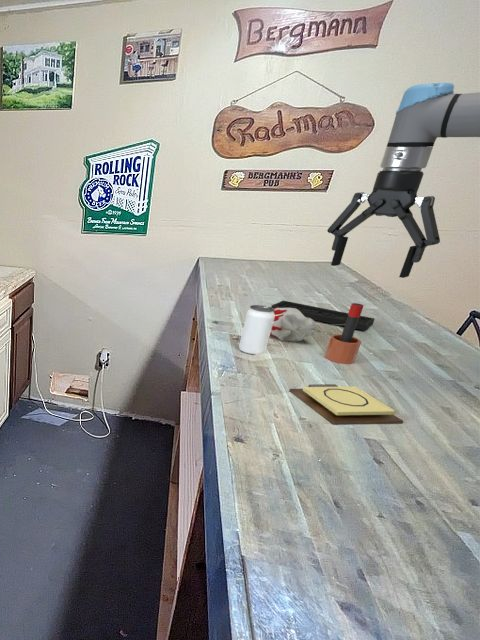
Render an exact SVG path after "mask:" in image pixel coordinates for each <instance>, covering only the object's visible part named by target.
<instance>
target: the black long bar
mask: <svg viewBox="0 0 480 640" xmlns="http://www.w3.org/2000/svg"><path fill="white" fill-rule="evenodd" d="M270 307H271V308H273V309H274V308H277V307H278V308H296V309H298V310H299V311H300V312H301V313H302V314H303V315H304V316H305V317H307V318H311V319H312V320H314V321H318V322H322V323H326V324H328V326H340V327H345V324H346V321H347V318H348V313H349V312H344V311H339V310H334V309H331V307H329V308H323V307H318V306H313V305H310V304H309V305H308V304H303V303H298V302H293V301H287V300H281V301H278V302H276V303H274V304H271V306H270ZM374 322H375V318H374V317H369V316H364V315H360V317H359V319H358V322H357V325H356V328H355V330H360V331H367V329H369V328H370V327H371V326H372V325H374ZM326 324H323V327H324V326H326ZM315 326H316V327H320V325H319V324H318V325H315Z"/></svg>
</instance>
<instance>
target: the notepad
mask: <svg viewBox="0 0 480 640" xmlns="http://www.w3.org/2000/svg"><path fill="white" fill-rule="evenodd" d="M302 389H303V391H304V392H306V393H307V394H308V395H310V396H311V397H312V398H314V399H315V400H316V401H318V402H319V403H321V404H322V405H323V406H325V407H326V408H327V409H329V410H330V411H331V412H333V413H334V414H336V415H395V413H396V410H394V409H393V408H391V407H390V406H388V405H386V404H385V403H383V402H381V401H379V399H377V398H375V397H373V396H372V395H370V394H368V393H366V392H365V391H363V390H362V389H361V388H359V387H357V386H339V387H308V386H303V387H302Z"/></svg>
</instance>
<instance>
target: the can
mask: <svg viewBox="0 0 480 640" xmlns="http://www.w3.org/2000/svg"><path fill="white" fill-rule="evenodd" d="M271 307H272V306H268V305H262V304H252V305H250V306H249V309H248V310H247V311H246V315H245V319H244V322H243V327H242V331H241V336H240V340H239V344H238V349H239V351H240V352H242V353H244V354H248V355H251V356H256V355H262V354H265V353H266V351H267V348H268V343H269V340H270V337H271V336H270V333H271V329H272V325H273V321H274V317H275V314H274V309H273V308H271Z"/></svg>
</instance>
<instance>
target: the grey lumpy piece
mask: <svg viewBox="0 0 480 640" xmlns="http://www.w3.org/2000/svg"><path fill="white" fill-rule="evenodd" d="M274 314H275V317H274V321H273V325H272V329H271V333H270V337H271V338H277V339H279V340H280V341H281V342H283V341H286V342H287V341H288V342H293V343H298V342H301V341H303V340H304V338H305V337H307V338H308V337H312V336H314V335H315V333H316V329H317V326H316V321H315V320H313V319H311V318H307V317H305V316H304V315H303V314H302V313H301V312H300V311H299V310H298V309H296V308H278V307H277V308H274Z"/></svg>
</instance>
